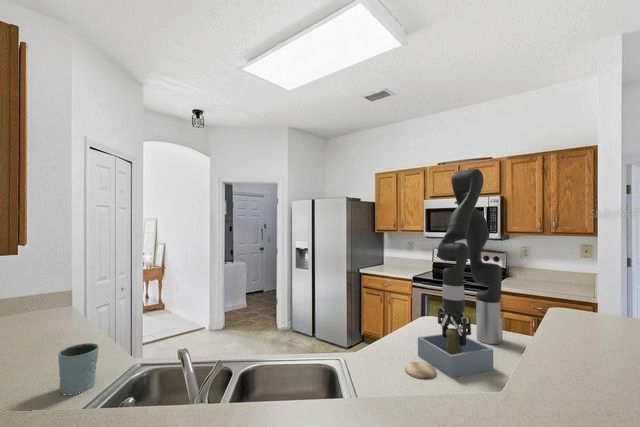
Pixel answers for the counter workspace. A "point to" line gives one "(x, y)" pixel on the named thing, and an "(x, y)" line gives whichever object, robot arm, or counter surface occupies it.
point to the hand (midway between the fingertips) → (453, 341)
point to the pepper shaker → (453, 341)
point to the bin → (455, 356)
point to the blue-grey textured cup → (77, 368)
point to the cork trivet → (420, 370)
